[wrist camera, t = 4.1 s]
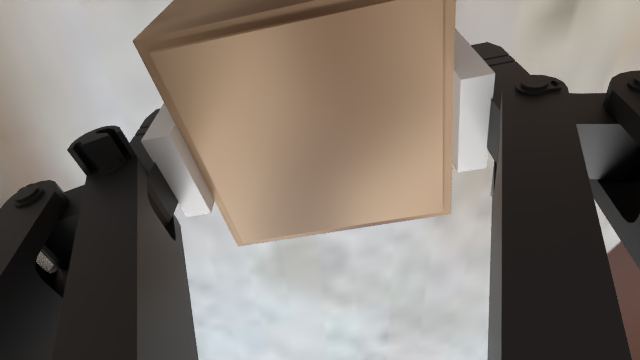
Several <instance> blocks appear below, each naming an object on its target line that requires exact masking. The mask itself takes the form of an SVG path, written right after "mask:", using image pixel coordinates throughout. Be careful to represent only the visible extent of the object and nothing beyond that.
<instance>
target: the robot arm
mask: <svg viewBox="0 0 640 360" xmlns="http://www.w3.org/2000/svg"><path fill="white" fill-rule="evenodd" d="M488 151H489V152H490V154H491V156H492V157H493V159H494V169H493V179H492V188H491V196H492V226H491V261H490V296H489V331H488V360H632V359H631V355H630V350H629V346H628V342H627V337H626V333H625V329H624V325H623V321H622V317H621V312H620V308H619V304H618V299H617V295H616V291H615V287H614V282H613V278H612V274H611V270H610V266H609V262H608V257H607V253H606V248H605V244H604V240H603V236H602V232H601V227H600V223H599V219H598V215H597V210H596V206H595V202H594V199H595V201H596V202H597V204H598V205H599V207H600V209H601V210H602V212H603V213H604V215H605V216H606V218H607V220H608V221H609V223H610V224H611V226H612V227H613V229H614V230H615V232H616V234H617V235H618V237H619V238H620V240H621V241H622V243H623V244H624V246H625V248H626V249H627V251H628V252H629V254H630V255H631V257H632V258H633V260H634V262H635V263H636V265H637V266H638V268H639V269H640V71H630V72H625V73H621V74H618V75H617V76H615V77H613V78H612V79H611V81H610V83H609V86H608V90H607V93H588V94H576V93H569V92H568V88H567V86H566V85H565V83H564V82H562V81H560V80H558V79H557V78H553V77H549V76H545V75H530V74H529V73H528V72H527V71H526V70H525V69H524V68H523V67H522V66H520V65H519V64H518V63H517V62H515V60H514V59H513V58H512V57H511V56H509V54H508V53H507V52H506V51H505V50H504V49H503V48H502V47H500V46H497V45H494V44H491V43H489V42H486V43H481V44H476V45H470V44H469V43H468V42H467V41H466V40H465V39H464V37H463V36H462V35H461V34H460V33H459V32H458V31H457V30H456V28H455V56H454V70H453V120H452V162H453V164H454V166H455V168H456V170H457V172H464V171H470V170H476V169H482V168H487V157H488ZM68 152H69V153H70V154H71V156H72V157H73V158H74V160H75V161H76V162H77V164H78V165H79V166H80V168H81V169H82V170H83V172H84V173H85V174H86V175H87V177H86V182H85V185H83V186H80V187H77V188H74V189H72V190H69V191H66V192H63V191H62V189H61V188H60V187H59V186H58V185H57V184H56V182H55V181H51V180H47V181H40V182H37V183H35V184H29V185H27V186H26V187H23V188H21V189H20V190H18V192H17V193H16V194H14V195H13V196H12V197H11V198H10V199H9V200H8V201H7V202H6V203H5V204H4V205H3V206H2V208H1V209H0V360H198V353H197V346H196V338H195V331H194V324H193V316H192V309H191V301H190V294H189V286H188V279H187V272H186V264H185V257H184V249H183V242H182V235H181V227H180V224H179V222H178V220H177V218H176V217H175V215H174V211H175V209H176V206H177V204H179V206H180V207H181V209H182V211H183V212H184V214H185V216H186V217H190V216H196V215H202V214H208V213H211V211H212V208H213V204H214V201H215V200H214V198H213V196H212V194H211V192H210V190H209V188H208V186H207V184H206V182H205V180H204V178H203V176H202V174H201V172H200V170H199V168H198V166H197V164H196V162H195V161H194V159H193V157H192V155H191V153H190V151H189V149H188V147H187V145H186V143H185V141H184V139H183V137H182V135H181V133H180V131H179V129H178V127H177V125H176V124H175V123H174V121H173V119H172V117H171V115H170V113H169V111H168V109H167V107H166V105H165V103H164V104H163V106H162V107H161V109H157V110H155V111H154V112H153V113H152V114H151V115H149V116H148V117H147V118H146V119H145V120H144V122H143V123H142V125H141V126H140V129H139V130H138V131H137V133H136V134H135V136H134V137H133V139H132V140H131V142H130V143H129V142H128V140H127V138H126V137H125V135H124V134H123V132H122V130H121V129H120V127H117V126H105V127H101V128H98V129H95V130H93V131H90V132H88V133H86V134H84V135H83V136H81V137H79V138H78V139H77V140H75V141H74V142H73V143H72V144H71V145H70V146H69V148H68ZM40 251H41V252H42V253H43V254H44V255H45V256H46V257H47V258H48V259H49V260H50V261H51V262H52V263H53V264H54V265H53V267H52V269H51V271H50V272H47V271H45V270H44V269H43V268H42V267H41V266H40V265H38V264H37V263H36V259H37V256H38V254H39V252H40Z"/></svg>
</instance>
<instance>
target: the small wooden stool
mask: <svg viewBox="0 0 640 360" xmlns="http://www.w3.org/2000/svg"><path fill="white" fill-rule="evenodd" d="M455 9H456V0H174V1H173V2H172V3H171V4H170V5H169V6H168V7H167V8H166V9H165V10H163V11H162V12H161V13H160V14H159V15H158V16H157V17H156V18H155V19H154V20H153V21H152V22H151V23H150V24H149V25H148V26H147V27H146V28H145V29H144V30H143V31H142V32H141V33H140V34H139V35H138V36H137V37H136V38H135V39H134V40H133V43H134V45H135V47H136V49H137V50H138V52H139V54H140V56H141V58H142V60H143V62H144V64H145V66H146V68H147V70H148V72H149V74H150V76H151V78H152V80H153V82H154V84H155V86H156V87H157V89H158V91H159V93H160V95H161V97H162V99H163V101H164V103H165V105H166V107H167V109H168V111H169V113H170V115H171V117H172V119H173V121H174V123H175V124H176V125H177V127H178V129H179V131H180V133H181V135H182V137H183V139H184V141H185V143H186V145H187V147H188V149H189V151H190V153H191V155H192V157H193V159H194V161H195V162H196V164H197V166H198V168H199V170H200V172H201V174H202V176H203V178H204V180H205V182H206V184H207V186H208V188H209V190H210V192H211V194H212V196H213V198H214V200H215V202H216V204H217V206H218V208H219V210H220V212H221V214H222V216H223V218H224V220H225V222H226V224H227V226H228V228H229V230H230V232H231V234H232V235H233V237H234V239H235V241H236V243H237V245H238V246H244V245H251V244H257V243H264V242H270V241H277V240H283V239H290V238H296V237H303V236H309V235H316V234H322V233H329V232H336V231H342V230H349V229H355V228H362V227H368V226H375V225H381V224H388V223H394V222H401V221H407V220H414V219H421V218H427V217H434V216H440V215H447V214H451V197H452V120H453V70H454V56H455Z"/></svg>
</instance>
